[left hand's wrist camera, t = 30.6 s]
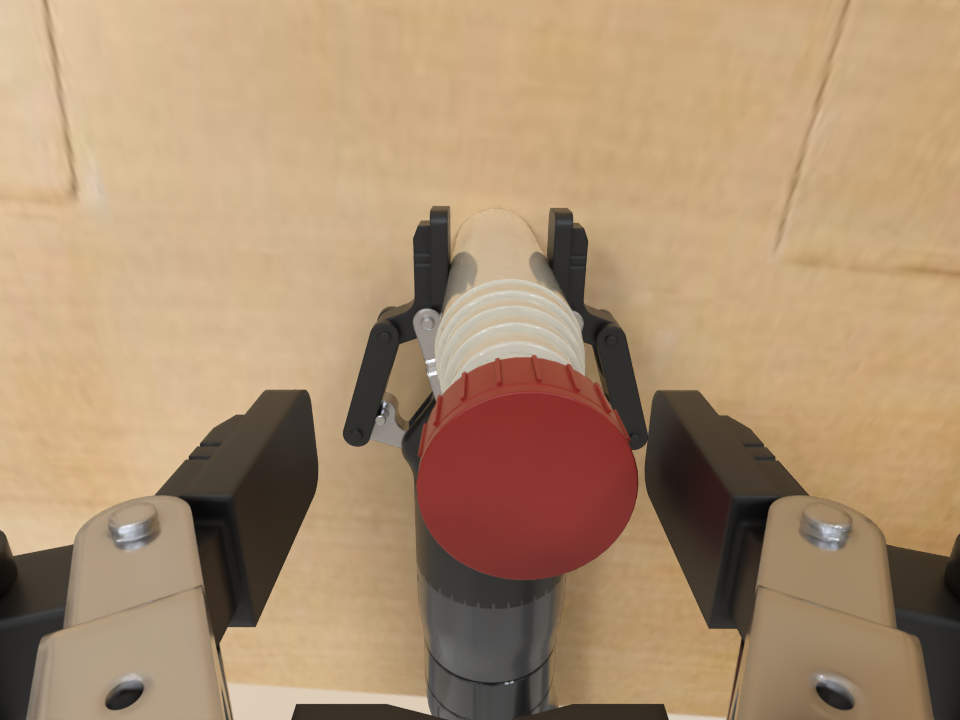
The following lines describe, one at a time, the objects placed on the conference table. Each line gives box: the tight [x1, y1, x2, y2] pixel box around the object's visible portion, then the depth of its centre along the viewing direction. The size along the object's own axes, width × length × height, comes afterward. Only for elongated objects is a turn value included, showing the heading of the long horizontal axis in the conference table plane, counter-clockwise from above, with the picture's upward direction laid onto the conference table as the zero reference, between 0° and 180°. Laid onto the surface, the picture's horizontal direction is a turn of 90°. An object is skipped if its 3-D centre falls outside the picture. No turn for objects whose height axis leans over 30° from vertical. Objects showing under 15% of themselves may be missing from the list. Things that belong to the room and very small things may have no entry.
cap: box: [416, 355, 638, 580], centre depth 11 cm, size 4×4×2 cm
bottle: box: [435, 208, 585, 395], centre depth 21 cm, size 4×4×21 cm
